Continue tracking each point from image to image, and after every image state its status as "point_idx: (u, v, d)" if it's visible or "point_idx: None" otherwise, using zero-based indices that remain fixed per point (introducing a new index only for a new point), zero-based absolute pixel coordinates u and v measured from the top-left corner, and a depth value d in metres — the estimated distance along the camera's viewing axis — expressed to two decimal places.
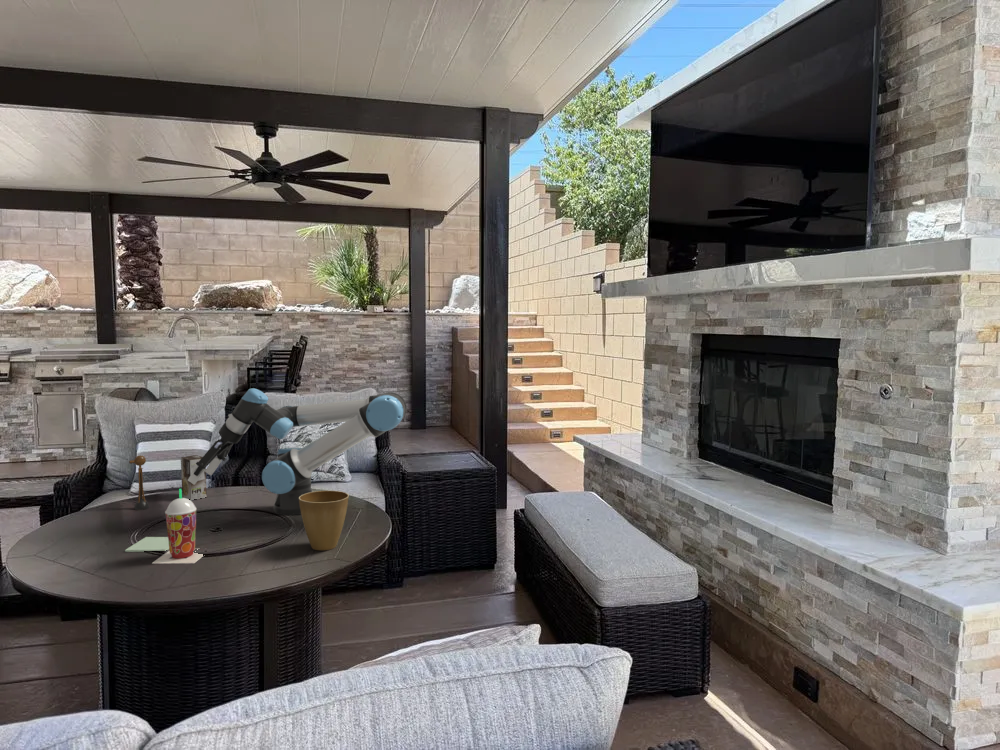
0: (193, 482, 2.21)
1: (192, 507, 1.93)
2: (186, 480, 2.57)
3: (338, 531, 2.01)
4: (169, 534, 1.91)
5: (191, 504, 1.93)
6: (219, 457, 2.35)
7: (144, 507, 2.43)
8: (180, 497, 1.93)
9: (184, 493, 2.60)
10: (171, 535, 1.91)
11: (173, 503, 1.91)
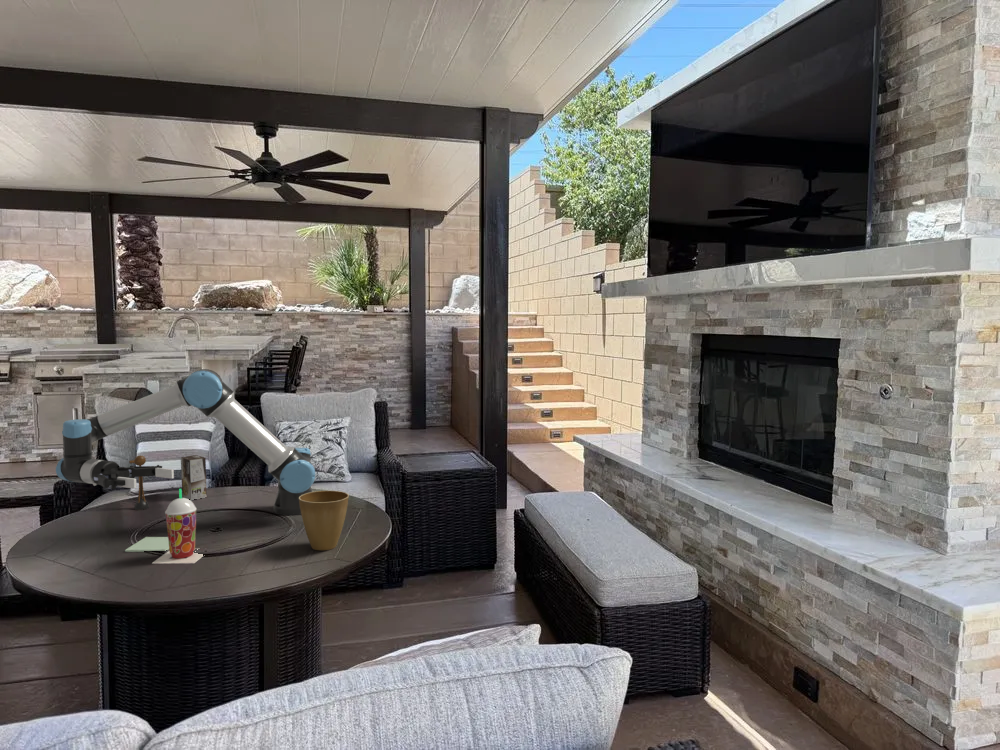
0: (132, 481, 1.89)
1: (192, 507, 1.93)
2: (186, 480, 2.57)
3: (338, 531, 2.01)
4: (169, 534, 1.91)
5: (191, 504, 1.93)
6: None
7: (144, 507, 2.43)
8: (180, 497, 1.93)
9: (184, 493, 2.60)
10: (171, 535, 1.91)
11: (173, 503, 1.91)
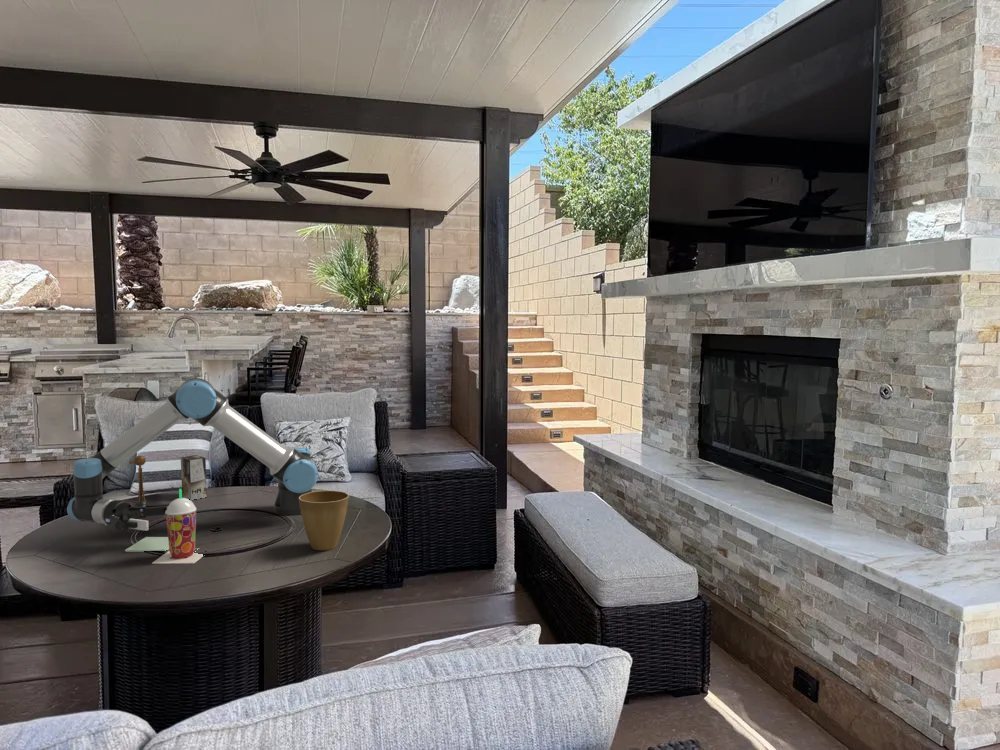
0: (144, 523, 1.88)
1: (192, 507, 1.93)
2: (186, 480, 2.57)
3: (338, 531, 2.01)
4: (169, 534, 1.91)
5: (191, 504, 1.93)
6: None
7: None
8: (180, 497, 1.93)
9: (184, 493, 2.60)
10: (171, 535, 1.91)
11: (173, 503, 1.91)
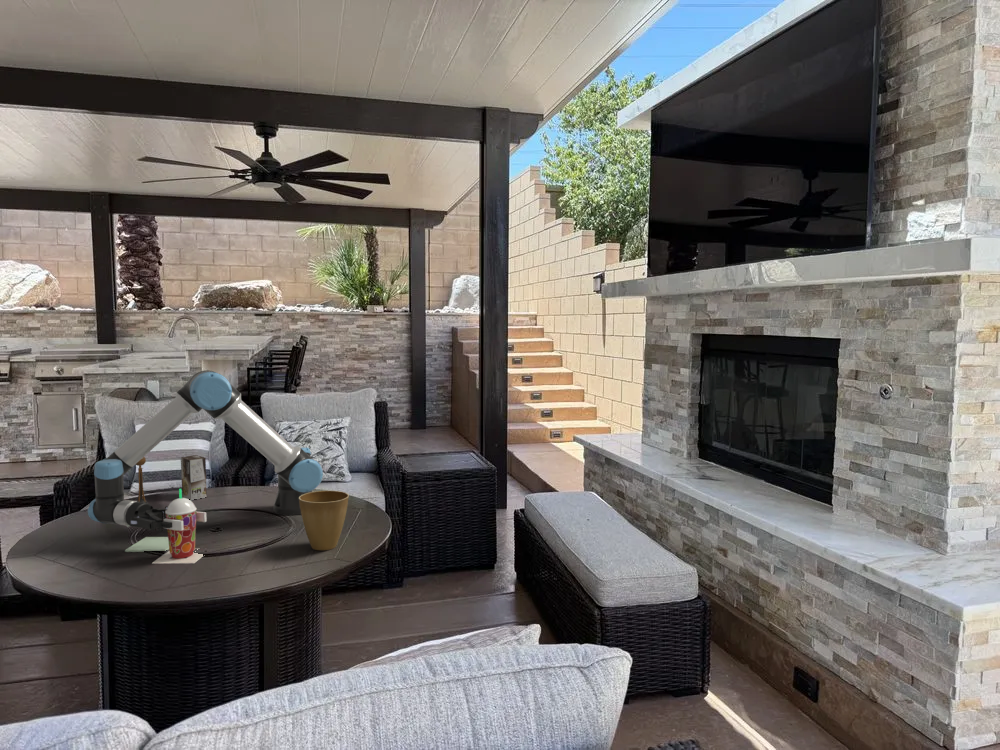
0: (179, 523, 1.88)
1: (192, 507, 1.93)
2: (186, 480, 2.57)
3: (338, 531, 2.01)
4: (169, 534, 1.91)
5: (191, 504, 1.93)
6: None
7: None
8: (180, 497, 1.93)
9: (184, 493, 2.60)
10: (171, 535, 1.91)
11: (173, 503, 1.91)
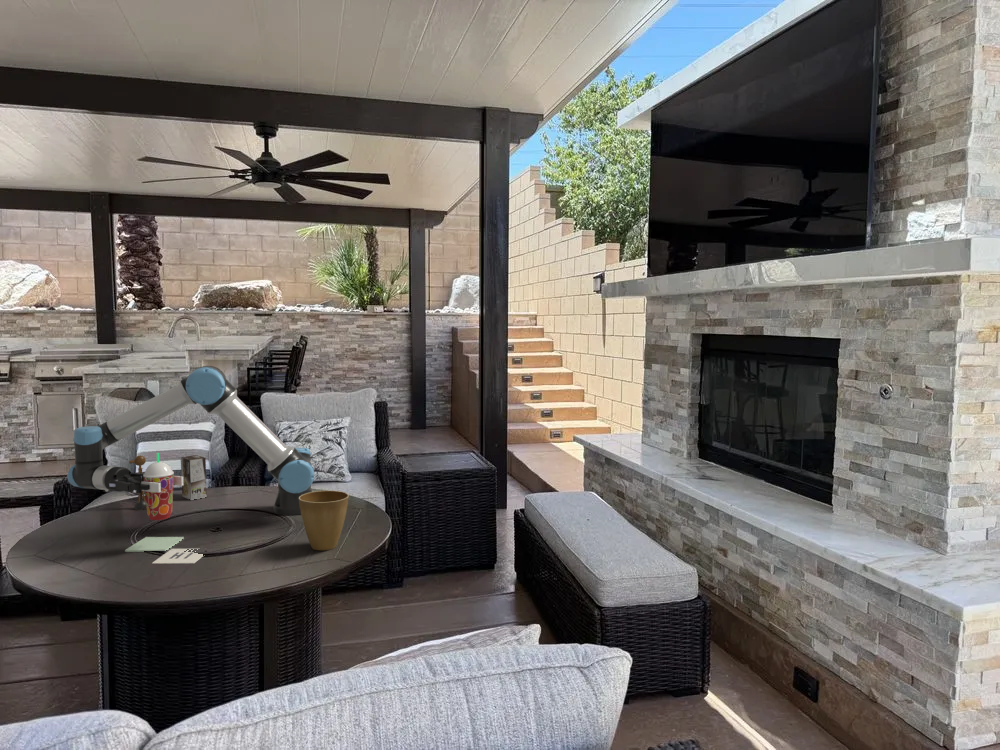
0: (157, 485, 1.94)
1: (169, 471, 2.00)
2: (186, 480, 2.57)
3: (338, 531, 2.01)
4: (147, 496, 1.97)
5: (168, 468, 2.00)
6: None
7: (144, 507, 2.43)
8: (158, 461, 1.99)
9: (184, 493, 2.60)
10: (149, 497, 1.97)
11: (151, 466, 1.97)
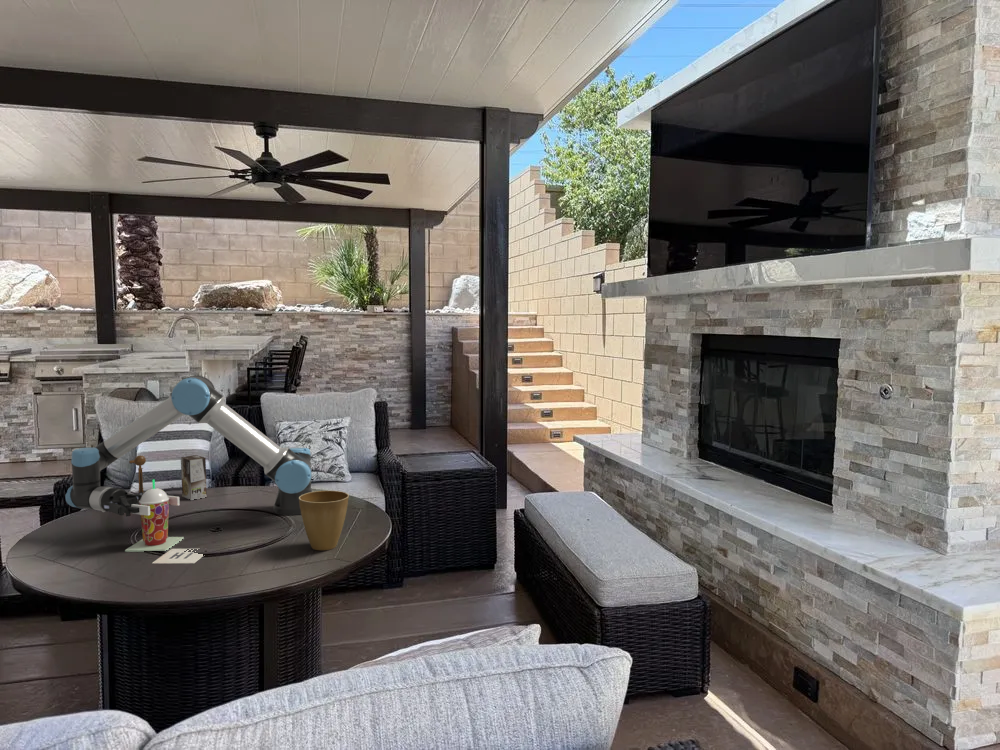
0: (146, 508, 1.96)
1: (165, 497, 2.03)
2: (186, 480, 2.57)
3: (338, 531, 2.01)
4: (142, 522, 2.01)
5: (164, 494, 2.03)
6: None
7: None
8: (153, 487, 2.03)
9: (184, 493, 2.60)
10: (144, 523, 2.00)
11: (146, 493, 2.01)
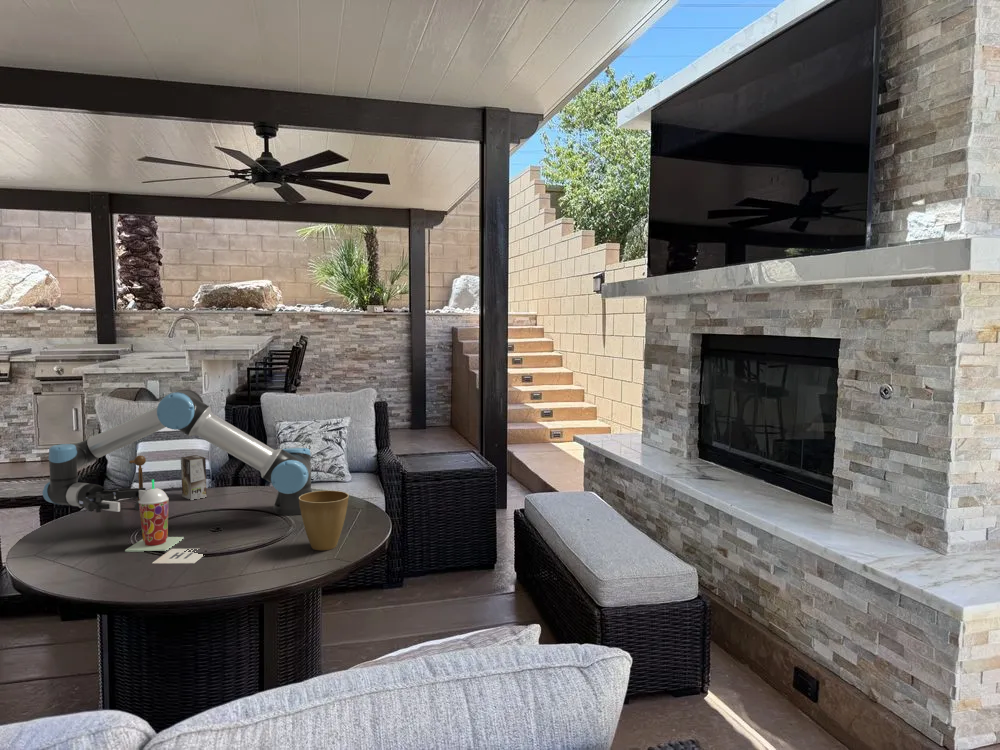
0: (116, 504, 1.98)
1: (164, 497, 2.03)
2: (186, 480, 2.57)
3: (338, 531, 2.01)
4: (142, 522, 2.01)
5: (163, 494, 2.03)
6: None
7: None
8: (153, 487, 2.03)
9: (184, 493, 2.60)
10: (144, 523, 2.00)
11: (146, 493, 2.01)
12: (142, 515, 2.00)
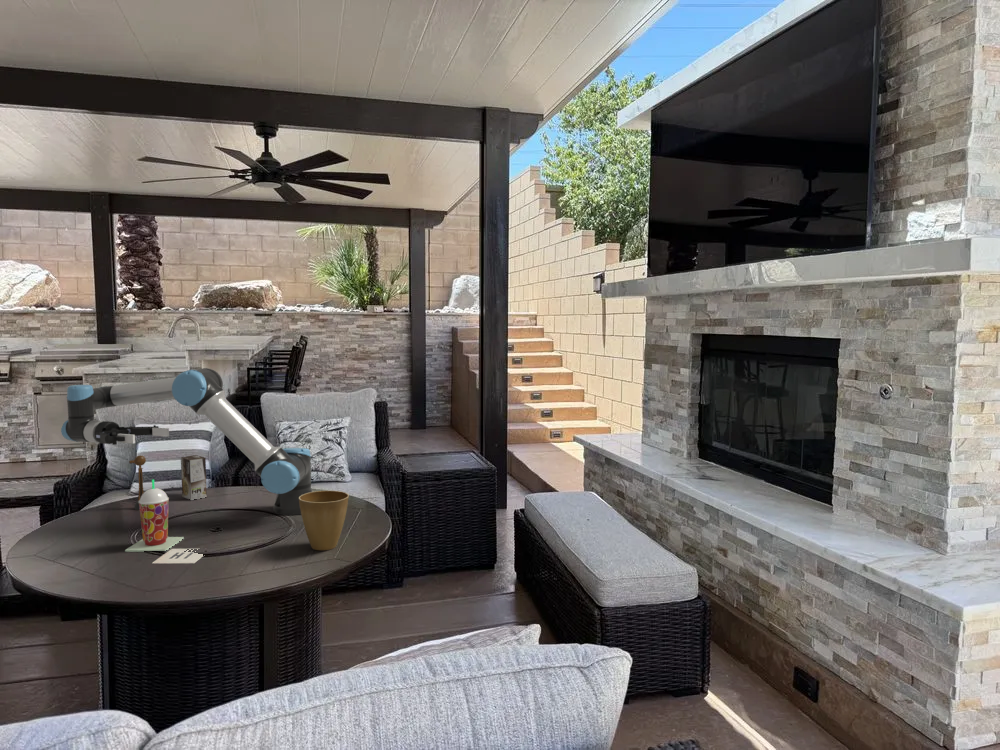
0: (131, 436, 2.09)
1: (164, 497, 2.03)
2: (186, 480, 2.57)
3: (338, 531, 2.01)
4: (142, 522, 2.01)
5: (163, 494, 2.03)
6: None
7: None
8: (153, 487, 2.03)
9: (184, 493, 2.60)
10: (144, 523, 2.00)
11: (146, 493, 2.01)
12: (142, 515, 2.00)
